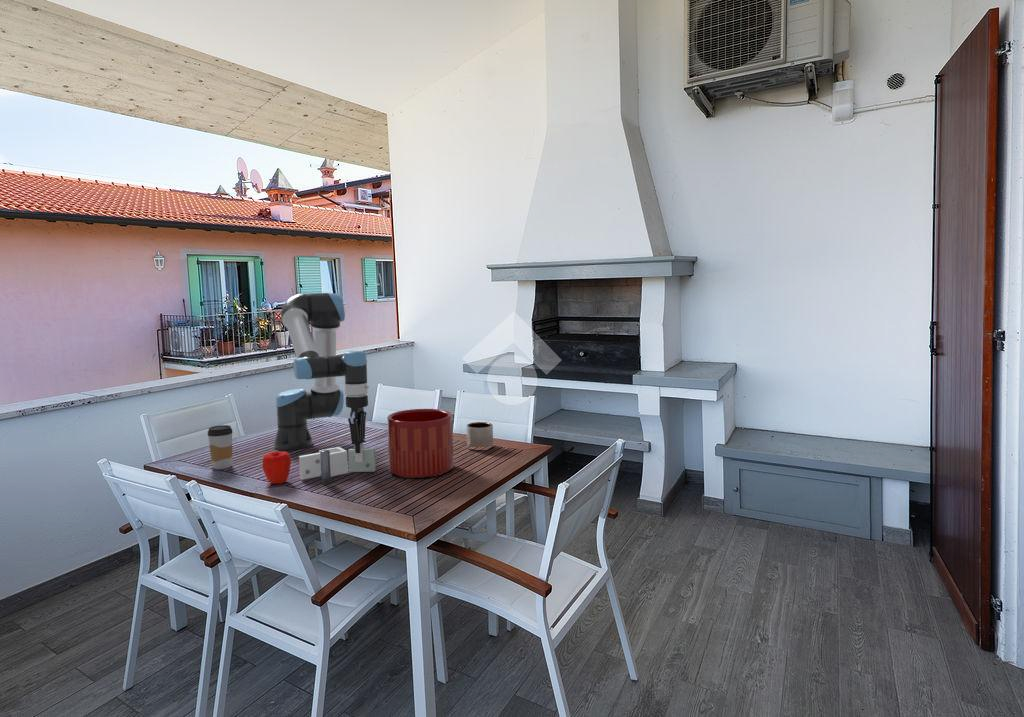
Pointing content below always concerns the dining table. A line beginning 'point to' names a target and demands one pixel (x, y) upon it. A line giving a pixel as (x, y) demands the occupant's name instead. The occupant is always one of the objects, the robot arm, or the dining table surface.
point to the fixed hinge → (312, 463)
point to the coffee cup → (220, 446)
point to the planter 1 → (420, 442)
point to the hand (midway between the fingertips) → (359, 461)
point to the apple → (277, 466)
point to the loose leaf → (367, 464)
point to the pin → (325, 466)
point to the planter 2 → (479, 434)
